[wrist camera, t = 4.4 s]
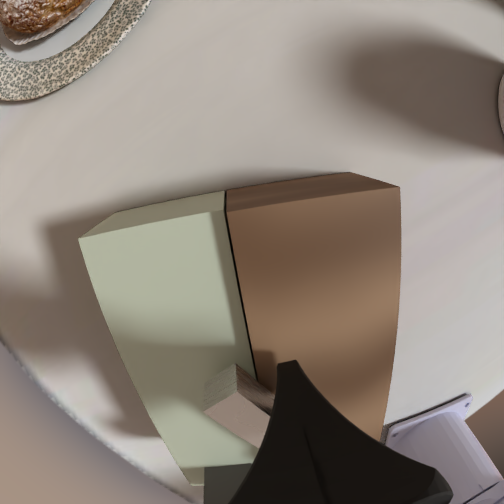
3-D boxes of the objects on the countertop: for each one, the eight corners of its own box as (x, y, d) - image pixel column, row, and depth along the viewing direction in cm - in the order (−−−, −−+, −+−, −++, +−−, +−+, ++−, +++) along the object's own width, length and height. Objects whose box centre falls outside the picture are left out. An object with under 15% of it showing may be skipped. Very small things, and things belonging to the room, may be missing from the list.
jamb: (353, 410, 19) (375, 461, 14) (271, 428, 18) (280, 484, 14) (350, 172, 14) (399, 186, 9) (226, 190, 13) (226, 212, 9)
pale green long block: (269, 428, 18) (283, 512, 12) (194, 437, 18) (189, 520, 12) (224, 190, 13) (222, 231, 7) (115, 212, 13) (42, 266, 7)
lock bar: (357, 447, 13) (367, 473, 12) (317, 468, 14) (324, 495, 12) (245, 356, 11) (248, 391, 9) (195, 388, 11) (192, 423, 9)
